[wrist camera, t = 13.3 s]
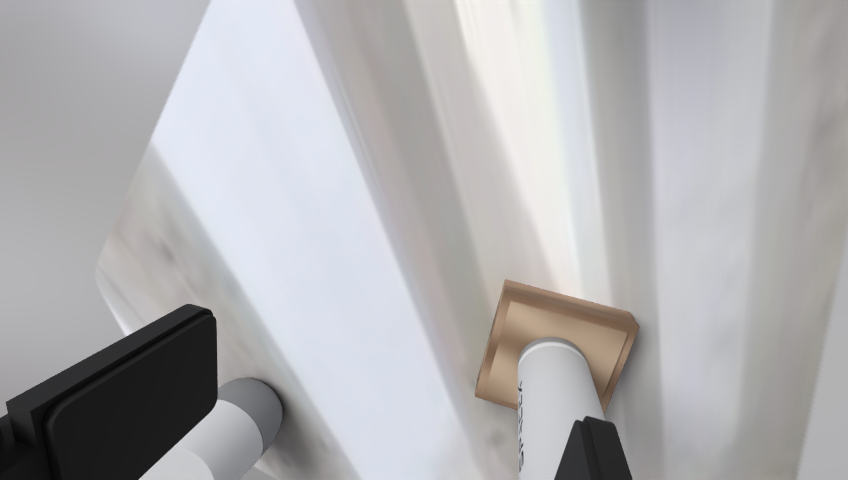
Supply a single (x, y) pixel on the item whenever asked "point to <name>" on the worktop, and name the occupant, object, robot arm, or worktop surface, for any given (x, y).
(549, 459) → the travel mug
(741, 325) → the worktop surface
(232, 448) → the smart speaker
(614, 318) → the plinth
